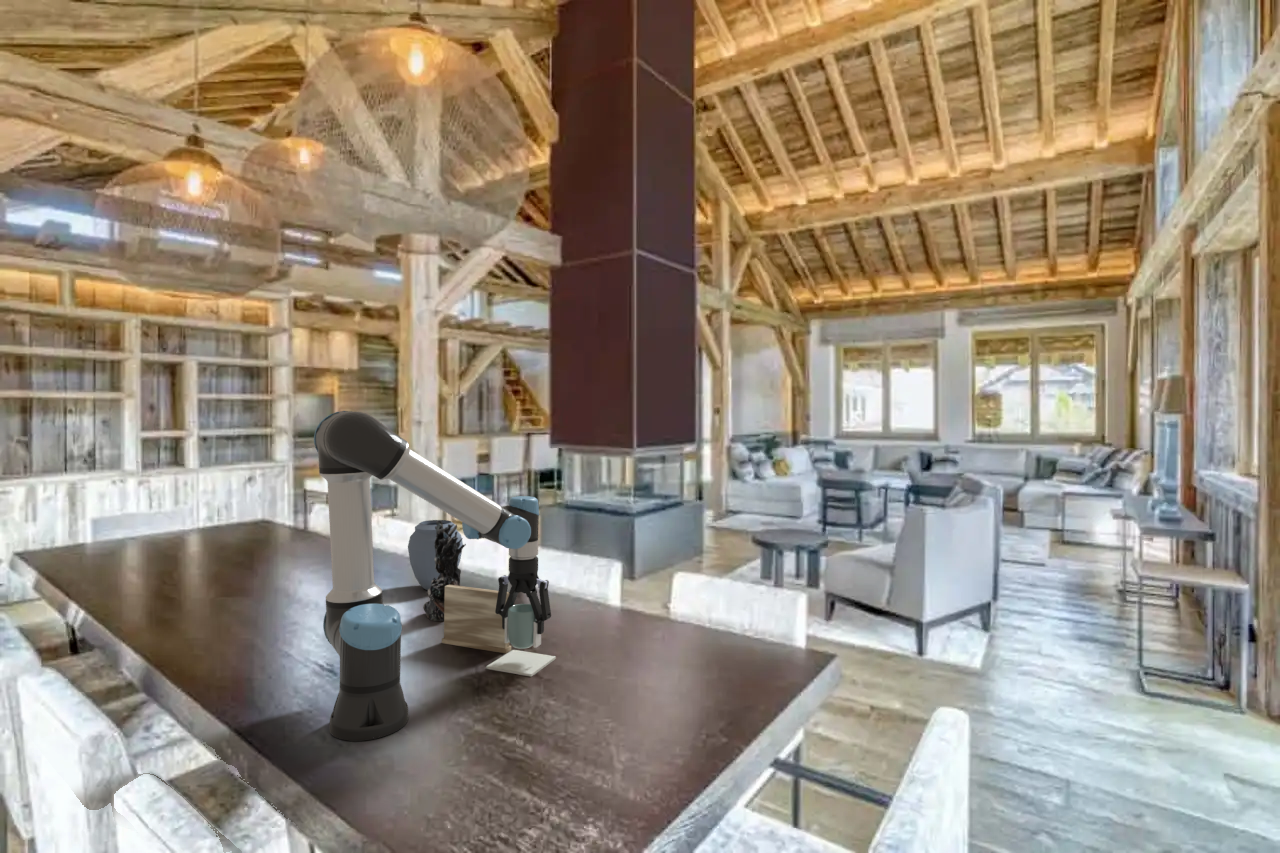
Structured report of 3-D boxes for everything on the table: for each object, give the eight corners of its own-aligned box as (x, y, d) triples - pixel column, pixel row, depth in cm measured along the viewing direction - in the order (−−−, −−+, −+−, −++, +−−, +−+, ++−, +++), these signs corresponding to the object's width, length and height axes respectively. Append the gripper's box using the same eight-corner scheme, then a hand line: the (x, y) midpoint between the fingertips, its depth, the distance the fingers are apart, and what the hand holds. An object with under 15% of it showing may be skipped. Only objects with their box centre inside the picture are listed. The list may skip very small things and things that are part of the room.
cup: (531, 652, 166) (531, 613, 165) (502, 650, 167) (503, 611, 167) (542, 642, 173) (542, 604, 173) (514, 639, 175) (514, 602, 175)
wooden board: (505, 653, 177) (506, 594, 177) (441, 643, 184) (442, 586, 184) (511, 650, 180) (512, 592, 179) (447, 639, 187) (448, 584, 187)
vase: (408, 582, 248) (409, 518, 248) (461, 580, 254) (462, 517, 254) (406, 596, 230) (407, 527, 229) (463, 593, 236) (464, 525, 235)
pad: (531, 676, 162) (531, 674, 162) (486, 668, 166) (486, 666, 166) (555, 658, 174) (555, 656, 174) (513, 651, 178) (513, 649, 178)
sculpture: (410, 621, 203) (411, 525, 202) (436, 607, 217) (437, 517, 217) (451, 625, 199) (453, 527, 199) (475, 611, 214) (477, 520, 214)
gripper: (565, 557, 170) (564, 644, 170) (497, 550, 177) (496, 634, 177) (552, 563, 163) (551, 654, 163) (481, 555, 170) (480, 643, 170)
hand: (522, 643), depth 170 cm, fingers closed on cup, 8 cm apart
